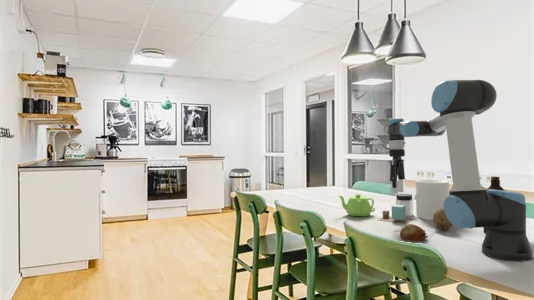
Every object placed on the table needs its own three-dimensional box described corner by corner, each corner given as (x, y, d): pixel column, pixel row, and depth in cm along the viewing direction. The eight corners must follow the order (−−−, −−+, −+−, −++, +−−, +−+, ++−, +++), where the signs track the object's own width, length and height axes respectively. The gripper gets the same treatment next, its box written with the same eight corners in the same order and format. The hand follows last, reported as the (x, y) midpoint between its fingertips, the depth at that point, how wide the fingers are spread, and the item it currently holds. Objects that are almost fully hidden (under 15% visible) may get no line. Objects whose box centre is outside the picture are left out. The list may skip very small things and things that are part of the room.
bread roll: (409, 243, 154) (401, 226, 156) (431, 236, 148) (422, 218, 150) (402, 248, 147) (393, 230, 149) (425, 241, 141) (415, 223, 143)
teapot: (355, 221, 184) (355, 197, 183) (338, 216, 196) (337, 194, 196) (377, 217, 191) (377, 194, 191) (359, 213, 204) (358, 191, 203)
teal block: (402, 220, 174) (401, 207, 174) (391, 219, 177) (391, 206, 177) (405, 218, 178) (405, 205, 178) (395, 217, 181) (395, 204, 181)
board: (406, 225, 170) (406, 223, 170) (376, 222, 180) (376, 220, 180) (413, 221, 179) (413, 219, 179) (385, 217, 189) (385, 216, 189)
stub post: (387, 218, 184) (387, 211, 184) (382, 217, 185) (382, 211, 185) (389, 217, 186) (389, 210, 186) (384, 216, 187) (384, 210, 187)
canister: (434, 214, 194) (433, 178, 193) (457, 220, 178) (456, 181, 178) (410, 216, 190) (409, 180, 189) (430, 223, 174) (430, 183, 174)
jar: (393, 215, 194) (392, 194, 194) (405, 214, 197) (404, 193, 196) (403, 218, 186) (403, 196, 185) (416, 217, 188) (415, 195, 188)
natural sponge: (441, 233, 155) (441, 211, 155) (428, 228, 164) (428, 207, 164) (459, 231, 157) (458, 209, 157) (445, 226, 166) (445, 206, 166)
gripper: (397, 149, 166) (398, 196, 167) (410, 148, 182) (411, 190, 183) (382, 149, 171) (383, 195, 172) (396, 148, 187) (397, 190, 188)
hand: (397, 193), depth 177 cm, fingers open, 8 cm apart
